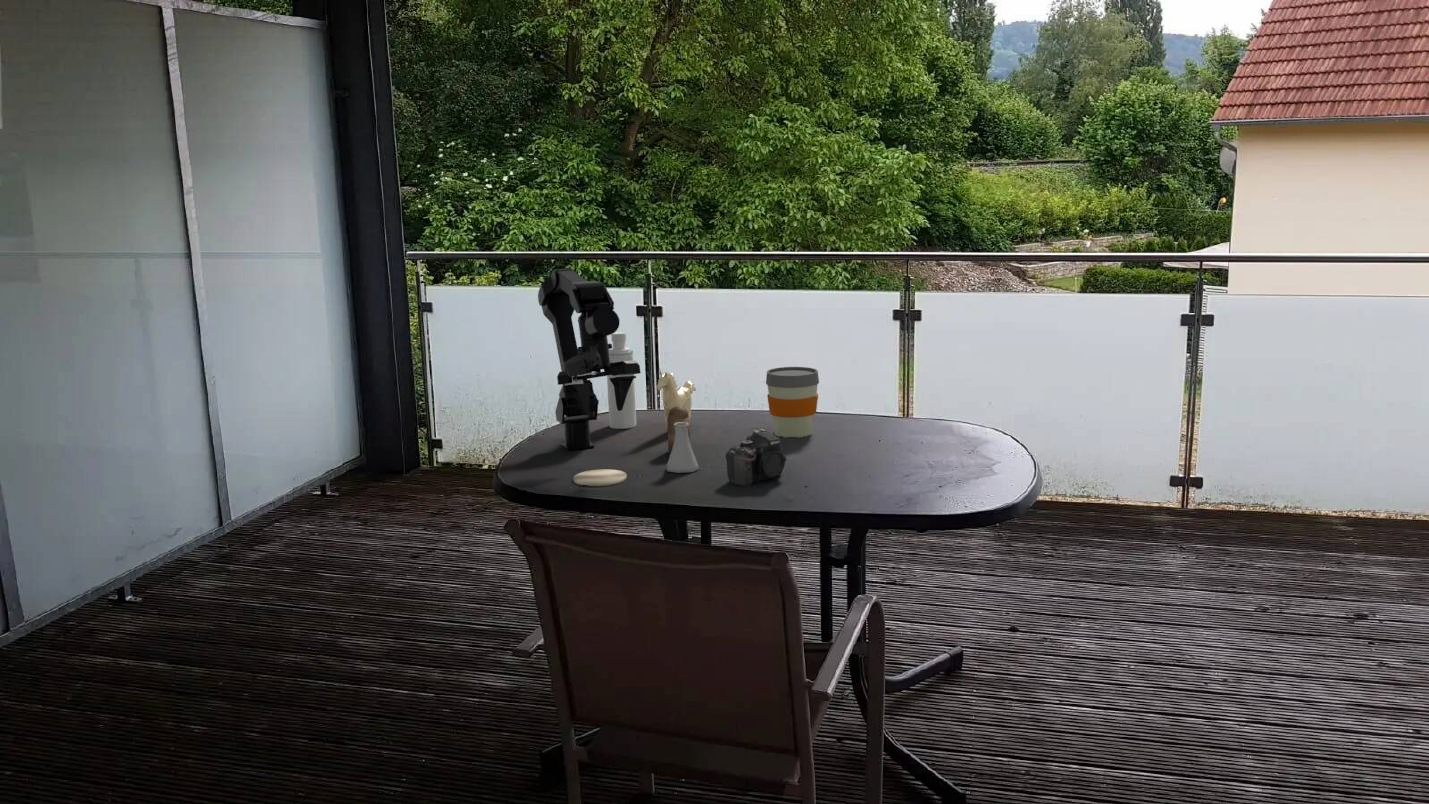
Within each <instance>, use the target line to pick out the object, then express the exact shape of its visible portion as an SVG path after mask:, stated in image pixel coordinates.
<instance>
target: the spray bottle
mask: <svg viewBox="0 0 1429 804" xmlns="http://www.w3.org/2000/svg"><path fill="white" fill-rule="evenodd" d="M610 336H611V342H612V349H609V356H610V363H615V362H621V361H634V351H633V350H632V349H631V348H630V347H628V346H627V347H626V341H627V333H626V332H624V331H617V332H614V333H613V334H611V335H610ZM609 378H615V376H612V375H608V376H606V380H607V381H606V382H607V383H606V384H607V399H608V400H607V403H608V419H609V420H608V423H609V428H611V429H615V430H616V429H617V430H623V429H631V428H635V427H636V426H637V411H636V410H637V407H636V390H635V389H636V387H635V385H636V383H635V378H634V379H633V381H632V383H631V386H630V388H629V390H628V393H627V396H626V399H625V403H624V406H623V409H622V411H618V410H617V405H616V399H615V391H614V385H613V384H612V382H611V381H610V379H609Z"/></svg>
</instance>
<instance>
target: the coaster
mask: <svg viewBox="0 0 1429 804" xmlns="http://www.w3.org/2000/svg"><path fill="white" fill-rule="evenodd" d="M627 478H628V474H627V473H626V472H625V471H623V470H618V469H607V468H603V469H602V468H601V469H593V470H592V469H591V470H585V471H582V472H579V473H577V474H575V475H574V476H573V482H574V483H575V484H576V485H578V486H583V485H588V486H587V487H607V486H613V485H617V484H618V485H619V484H621V483H623V482H625V481H627Z"/></svg>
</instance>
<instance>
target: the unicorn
mask: <svg viewBox="0 0 1429 804" xmlns="http://www.w3.org/2000/svg"><path fill="white" fill-rule="evenodd" d="M659 376H660V378H658V380H657V385H656V389H657V391H660V392H661V391H662V392H661V394H662V395H661V396H662V404H663V410H664V418H665V421H664V422H665V425H666V427H667V417H668V413H669V411H670V409H671V408H673V407H675V406H682V407H684V408H685V409H686V410H687V412H688V416H689V420H690V421H691V415H692V413H691V412H692V402H693V401H692V394H694V392H695V391H696V390H697V389H696V387H695V383H694V382H693V380H688V381H686V382H685V383H684V385H683V386H681V387H678V384H677V381H676V379H675V376H674V375H673V372H668V371H666V372H664V373H662V370H661V369H659Z"/></svg>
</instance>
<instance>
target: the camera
mask: <svg viewBox="0 0 1429 804" xmlns="http://www.w3.org/2000/svg"><path fill="white" fill-rule="evenodd" d="M781 443H782V442H781V439H780V438H779V436H777V435H775V434H773V433H772V432H769V431H767V430H766V429H762V428H760V430H756V429H754V430H753V431H752V434H751V435H748V436H747V437H746V439H745V440H742V441H741V442H740V444H738V445H735V446H732V447H730V448H729V450H728V451H727V452H726V453H725V460H726V473H727V478H728V481H729V482H730V484H733V485H735V486H739V487H750V486H752V485H753V483H754V482H758V481H761V480H766V479H771V478H776V477H778V476H779V475H781V474H783V470H784V469H785V465H786V462H787V457H786V456H785V455H784V453H783V448H782V445H781Z"/></svg>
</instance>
